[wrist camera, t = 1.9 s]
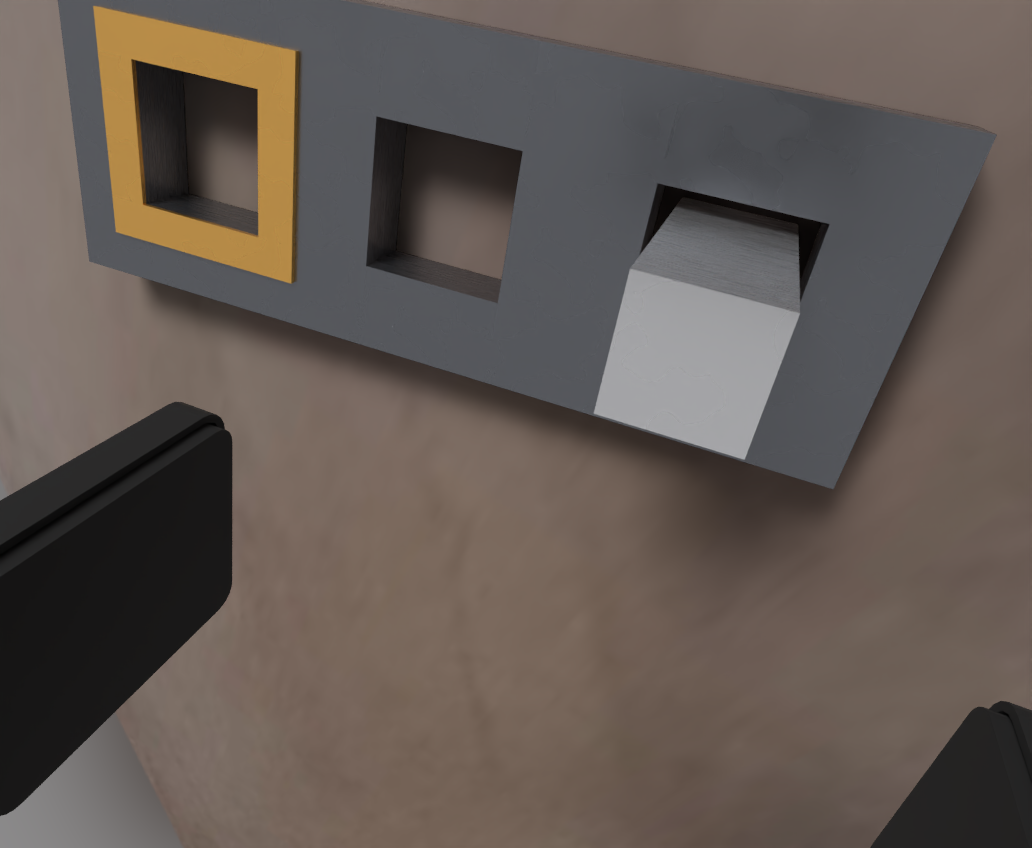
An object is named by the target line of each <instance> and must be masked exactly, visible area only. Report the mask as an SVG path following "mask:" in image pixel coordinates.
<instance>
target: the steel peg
mask: <svg viewBox="0 0 1032 848" xmlns="http://www.w3.org/2000/svg"><path fill="white" fill-rule="evenodd" d="M799 315H800V283H799V238H798V224H794V223H790V222H786V221H782V220H778V219H773V218H769V217H765V216H761V215H757V214H753V213H748V212H744V211H740V210H736V209H732V208H728V207H723V206H719V205H715V204H711V203H707V202H703V201H698V200H694V199H690V198H686V197H683V198H682V199H681V200H680V202H679V203H678V204H677V206H676V207H675V208H674V210H673V211H672V212H671V214H670V215H669V217H668V218H667V219H666V221H665V222H664V223H663V225H662V226H661V227H660V229H659V230H658V231H657V233H656V234H655V235H654V237H653V238H652V240H651V241H650V242H649V244H648V245H647V246H646V248H645V249H644V250H643V252H642V253H641V254H640V256H639V257H638V258H637V260H636V261H635V263H634V264H633V265H632V267H631V268H630V271H629V275H628V279H627V283H626V287H625V291H624V295H623V299H622V303H621V307H620V311H619V315H618V319H617V323H616V327H615V331H614V334H613V338H612V342H611V346H610V350H609V354H608V358H607V362H606V366H605V370H604V374H603V378H602V382H601V386H600V390H599V394H598V398H597V402H596V406H595V410H594V414H597V415H600V416H603V417H606V418H610V419H613V420H616V421H619V422H623V423H626V424H629V425H632V426H636V427H639V428H642V429H646V430H649V431H652V432H655V433H659V434H662V435H665V436H668V437H672V438H675V439H678V440H681V441H685V442H688V443H691V444H694V445H698V446H701V447H704V448H708V449H711V450H714V451H717V452H721V453H724V454H727V455H730V456H734V457H737V458H740V459H743V460H745V457H746V455H747V452H748V449H749V447H750V444H751V441H752V439H753V436H754V434H755V431H756V428H757V426H758V423H759V420H760V418H761V415H762V412H763V410H764V407H765V405H766V402H767V399H768V397H769V394H770V391H771V389H772V386H773V384H774V381H775V378H776V376H777V373H778V370H779V368H780V365H781V362H782V360H783V357H784V355H785V352H786V349H787V347H788V344H789V341H790V339H791V336H792V334H793V331H794V328H795V326H796V323H797V320H798V318H799Z"/></svg>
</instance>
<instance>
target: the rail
mask: <svg viewBox="0 0 1032 848" xmlns="http://www.w3.org/2000/svg"><path fill="white" fill-rule="evenodd" d="M58 5H59V13H60V21H61V30H62V38H63V46H64V54H65V63H66V71H67V79H68V88H69V96H70V104H71V112H72V121H73V129H74V137H75V146H76V154H77V162H78V171H79V179H80V187H81V195H82V204H83V212H84V220H85V229H86V237H87V245H88V253H89V261H90V262H93V263H97V264H100V265H103V266H106V267H110V268H113V269H116V270H119V271H123V272H126V273H129V274H132V275H136V276H139V277H142V278H145V279H149V280H152V281H155V282H159V283H162V284H165V285H168V286H172V287H175V288H178V289H181V290H185V291H188V292H191V293H194V294H198V295H201V296H204V297H207V298H211V299H214V300H217V301H220V302H224V303H227V304H230V305H234V306H237V307H240V308H243V309H247V310H250V311H253V312H256V313H260V314H263V315H266V316H269V317H273V318H276V319H279V320H282V321H286V322H289V323H292V324H296V325H299V326H302V327H305V328H309V329H312V330H315V331H318V332H322V333H325V334H328V335H331V336H335V337H338V338H341V339H344V340H348V341H351V342H354V343H357V344H361V345H364V346H367V347H371V348H374V349H377V350H380V351H384V352H387V353H390V354H393V355H397V356H400V357H403V358H406V359H410V360H413V361H416V362H419V363H423V364H426V365H429V366H433V367H436V368H439V369H442V370H446V371H449V372H452V373H455V374H459V375H462V376H465V377H468V378H472V379H475V380H478V381H481V382H485V383H488V384H491V385H494V386H498V387H501V388H504V389H508V390H511V391H514V392H517V393H521V394H524V395H527V396H530V397H534V398H537V399H540V400H543V401H547V402H550V403H553V404H556V405H560V406H563V407H566V408H570V409H573V410H576V411H579V412H583V413H586V414H589V415H592V416H596V417H599V418H602V419H605V420H609V421H612V422H615V423H618V424H622V425H625V426H628V427H631V428H635V429H638V430H641V431H645V432H648V433H651V434H654V435H658V436H661V437H664V438H667V439H671V440H674V441H677V442H680V443H684V444H687V445H690V446H693V447H697V448H700V449H703V450H707V451H710V452H713V453H716V454H720V455H723V456H726V457H729V458H733V459H736V460H739V461H742V462H746V463H749V464H752V465H755V466H759V467H762V468H765V469H769V470H772V471H775V472H778V473H782V474H785V475H788V476H791V477H795V478H798V479H801V480H804V481H808V482H811V483H814V484H817V485H821V486H824V487H827V488H830V489H834V487H835V485H836V482H837V480H838V478H839V476H840V474H841V472H842V469H843V467H844V465H845V463H846V461H847V459H848V456H849V454H850V452H851V450H852V448H853V446H854V443H855V441H856V439H857V437H858V435H859V433H860V430H861V428H862V426H863V424H864V422H865V420H866V417H867V415H868V413H869V411H870V409H871V407H872V404H873V402H874V400H875V398H876V396H877V394H878V391H879V389H880V387H881V385H882V383H883V381H884V378H885V376H886V374H887V372H888V370H889V368H890V365H891V363H892V361H893V359H894V357H895V355H896V352H897V350H898V348H899V346H900V344H901V342H902V339H903V337H904V335H905V333H906V331H907V329H908V326H909V324H910V322H911V320H912V318H913V316H914V313H915V311H916V309H917V307H918V305H919V303H920V300H921V298H922V296H923V294H924V292H925V290H926V287H927V285H928V283H929V281H930V279H931V277H932V274H933V272H934V270H935V268H936V266H937V264H938V261H939V259H940V257H941V255H942V253H943V251H944V248H945V246H946V244H947V242H948V240H949V238H950V235H951V233H952V231H953V229H954V227H955V224H956V222H957V220H958V218H959V216H960V214H961V211H962V209H963V207H964V205H965V203H966V201H967V198H968V196H969V194H970V192H971V190H972V188H973V185H974V183H975V181H976V179H977V177H978V175H979V172H980V170H981V168H982V166H983V164H984V162H985V159H986V157H987V155H988V153H989V151H990V149H991V146H992V144H993V142H994V140H995V138H996V136H997V135H996V134H994V133H992V132H989V131H987V130H985V129H983V128H980V127H978V126H973V125H968V124H963V123H959V122H954V121H949V120H944V119H939V118H934V117H929V116H924V115H919V114H915V113H910V112H905V111H900V110H895V109H890V108H885V107H880V106H876V105H871V104H866V103H861V102H856V101H851V100H846V99H841V98H836V97H832V96H827V95H822V94H817V93H812V92H807V91H802V90H797V89H792V88H788V87H783V86H778V85H773V84H768V83H763V82H758V81H753V80H748V79H744V78H739V77H734V76H729V75H724V74H719V73H714V72H709V71H704V70H700V69H695V68H690V67H685V66H680V65H675V64H670V63H665V62H660V61H656V60H651V59H646V58H641V57H636V56H631V55H626V54H621V53H616V52H612V51H607V50H602V49H597V48H592V47H587V46H582V45H577V44H572V43H568V42H563V41H558V40H553V39H548V38H543V37H538V36H533V35H528V34H524V33H519V32H514V31H509V30H504V29H499V28H494V27H489V26H485V25H480V24H475V23H470V22H465V21H460V20H455V19H450V18H445V17H441V16H436V15H431V14H426V13H421V12H416V11H411V10H406V9H401V8H397V7H392V6H387V5H382V4H377V3H372V2H367V1H362V0H58ZM182 71H184V72H188V73H192V74H196V75H200V76H205V77H209V78H213V79H217V80H221V81H226V82H230V83H234V84H238V85H242V86H247V87H251V88H255V89H258V213H257V212H253V211H250V210H246V209H242V208H239V207H235V206H232V205H228V204H224V203H221V202H217V201H213V200H210V199H206V198H203V197H199V196H195V195H192V194H189V192H188V172H187V152H186V132H185V112H184V92H183V73H182ZM407 124H411V125H415V126H419V127H423V128H428V129H432V130H436V131H440V132H444V133H449V134H453V135H457V136H461V137H465V138H470V139H474V140H478V141H482V142H486V143H491V144H495V145H499V146H503V147H507V148H512V149H516V150H520V151H523V153H522V159H521V165H520V171H519V177H518V183H517V189H516V195H515V201H514V207H513V214H512V220H511V226H510V232H509V238H508V244H507V250H506V256H505V262H504V268H503V274H502V280H500V279H496V278H492V277H489V276H485V275H482V274H478V273H474V272H471V271H467V270H463V269H460V268H456V267H453V266H449V265H445V264H442V263H438V262H434V261H431V260H427V259H424V258H420V257H416V256H413V255H409V254H405V253H402V252H398V251H396V241H397V230H398V219H399V207H400V196H401V185H402V173H403V162H404V151H405V140H406V128H407ZM665 185H667V186H671V187H676V188H680V189H684V190H688V191H692V192H697V193H701V194H705V195H709V196H713V197H718V198H722V199H726V200H730V201H734V202H739V203H743V204H747V205H751V206H755V207H760V208H764V209H768V210H772V211H777V212H781V213H785V214H789V215H793V216H798V217H802V218H806V219H810V220H814V221H819V222H822V223H821V226H820V229H819V231H818V234H817V237H816V239H815V242H814V245H813V247H812V250H811V253H810V256H809V258H808V261H807V264H806V266H805V269H804V272H803V274H802V277H801V280H800V282H799V283H800V315H799V318H798V320H797V323H796V326H795V328H794V331H793V334H792V336H791V339H790V341H789V344H788V347H787V349H786V352H785V355H784V357H783V360H782V362H781V365H780V368H779V370H778V373H777V376H776V378H775V381H774V384H773V386H772V389H771V391H770V394H769V397H768V399H767V402H766V405H765V407H764V410H763V412H762V415H761V418H760V420H759V423H758V426H757V428H756V431H755V434H754V436H753V439H752V441H751V444H750V447H749V449H748V452H747V455H746V457H745V460H743V459H740V458H737V457H734V456H730V455H727V454H724V453H721V452H717V451H714V450H711V449H708V448H704V447H701V446H698V445H694V444H691V443H688V442H685V441H681V440H678V439H675V438H672V437H668V436H665V435H662V434H659V433H655V432H652V431H649V430H646V429H642V428H639V427H636V426H632V425H629V424H626V423H623V422H619V421H616V420H613V419H610V418H606V417H603V416H600V415H597V414H594V410H595V406H596V402H597V398H598V394H599V390H600V386H601V382H602V378H603V374H604V370H605V366H606V362H607V358H608V354H609V350H610V346H611V342H612V338H613V334H614V331H615V327H616V323H617V319H618V315H619V311H620V307H621V303H622V299H623V295H624V291H625V287H626V283H627V279H628V275H629V271H630V268H631V267H632V265H633V264H634V263H635V261H636V260H637V258H638V257H639V256H640V254H641V253H642V252H643V250H644V249H645V248H646V246H647V245H648V244H649V242H650V241H651V238H652V234H653V231H654V227H655V223H656V219H657V215H658V211H659V208H660V204H661V200H662V196H663V192H664V188H665Z"/></svg>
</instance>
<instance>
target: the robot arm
mask: <svg viewBox="0 0 1032 848" xmlns="http://www.w3.org/2000/svg"><path fill="white" fill-rule="evenodd" d="M231 586H232V436H231V434H230V433H229V432H228V431H227V430H225V428H224V423H223V421H222V419H221V418H220V417H219V416H217V415H216V414H213V413H210V412H207V411H205V410H202V409H199V408H196V407H194V406H191V405H188V404H185V403H183V402H174V403H171V404H169V405H167V406H165V407H163V408H162V409H160V410H158V411H156V412H155V413H153V414H151V415H149V416H148V417H146V418H144V419H142V420H141V421H139V422H137V423H135V424H134V425H132V426H130V427H128V428H127V429H125V430H123V431H121V432H120V433H118V434H116V435H114V436H113V437H111V438H109V439H107V440H106V441H104V442H102V443H100V444H99V445H97V446H95V447H93V448H92V449H90V450H88V451H86V452H85V453H83V454H81V455H79V456H78V457H76V458H74V459H72V460H71V461H69V462H67V463H65V464H64V465H62V466H60V467H58V468H57V469H55V470H53V471H51V472H50V473H48V474H46V475H44V476H43V477H41V478H39V479H37V480H36V481H34V482H32V483H30V484H29V485H27V486H25V487H23V488H22V489H20V490H18V491H16V492H15V493H13V494H11V495H9V496H8V497H6V498H4V499H2V500H1V501H0V816H1V815H5V814H7V813H9V812H11V811H13V810H14V809H15V808H16V807H18V806H19V805H20V804H21V803H22V802H23V801H24V800H26V798H28V796H30V795H31V794H32V793H33V791H35V790H36V788H38V787H39V786H40V785H41V784H42V783H43V782H44V781H45V780H46V779H47V778H48V777H49V776H50V775H51V774H52V773H53V772H54V771H55V770H56V769H57V768H58V767H59V766H60V765H61V764H62V763H63V762H64V761H65V760H66V759H67V758H68V757H69V756H70V755H71V754H72V753H73V752H74V751H75V750H76V749H78V747H80V745H82V744H83V742H84V741H86V740H87V739H88V738H89V737H90V736H91V735H92V734H93V733H94V732H95V731H96V730H97V729H98V728H99V727H100V726H101V725H102V724H103V723H104V722H105V721H106V720H107V719H108V718H109V717H110V716H111V715H112V714H113V713H114V712H115V711H116V710H117V709H118V708H119V707H120V706H121V705H122V704H123V703H124V702H125V701H126V700H127V699H128V698H129V697H130V696H132V695H133V694H134V693H135V692H136V691H137V690H138V689H139V688H140V687H141V686H142V685H143V684H144V683H145V682H146V681H147V680H148V679H149V678H150V677H151V676H152V675H153V674H154V673H155V672H156V671H157V670H158V669H159V668H160V667H161V666H162V665H163V664H164V663H165V662H166V661H167V660H168V659H169V658H170V657H171V656H172V655H173V654H174V653H175V652H176V651H177V650H178V649H179V648H180V647H181V646H182V645H183V644H184V643H186V642H187V641H188V640H189V639H190V638H191V637H192V636H193V635H194V634H195V633H196V632H197V631H198V630H199V629H200V628H201V627H202V626H203V625H204V624H205V623H206V622H207V621H208V620H209V619H210V618H211V617H212V616H213V615H214V614H215V613H216V612H217V611H218V610H219V609H220V608H221V607H222V605H223V604H224V602H225V601H226V599H227V597H228V595H229V593H230V590H231ZM871 848H1032V710H1029V709H1026V708H1023V707H1021V706H1018V705H1015V704H1012V703H1010V702H1005V701H1000V702H998V703H996V704H994V705H993V706H992V707H991V708H990V709H987V708H984V707H977V708H975V709H973V710H972V711H971V712H970V713H969V715H968V716H967V717H966V719H965V720H964V721H963V723H962V724H961V725H960V727H959V728H958V729H957V731H956V732H955V734H954V735H953V736H952V738H951V739H950V740H949V742H948V743H947V744H946V746H945V747H944V748H943V750H942V751H941V752H940V754H939V755H938V756H937V758H936V759H935V761H934V762H933V763H932V765H931V766H930V767H929V769H928V770H927V771H926V773H925V774H924V775H923V777H922V778H921V779H920V781H919V782H918V783H917V785H916V786H915V788H914V789H913V790H912V792H911V793H910V794H909V796H908V797H907V798H906V800H905V801H904V802H903V804H902V805H901V806H900V808H899V809H898V810H897V812H896V813H895V815H894V816H893V817H892V819H891V820H890V821H889V823H888V824H887V825H886V827H885V828H884V829H883V831H882V832H881V833H880V835H879V836H878V837H877V839H876V840H875V842H874V843H873V845H872V846H871Z"/></svg>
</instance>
